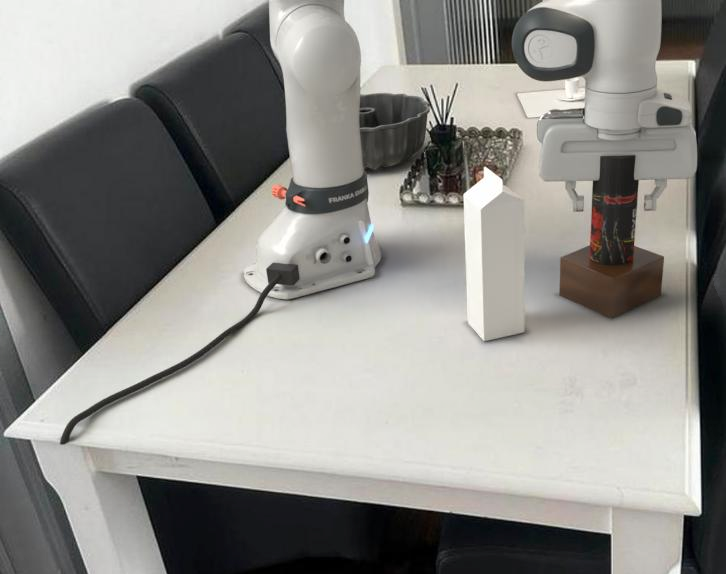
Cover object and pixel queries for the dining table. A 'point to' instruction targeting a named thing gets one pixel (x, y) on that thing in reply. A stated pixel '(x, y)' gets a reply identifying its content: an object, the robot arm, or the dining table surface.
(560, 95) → the teacup and saucer
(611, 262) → the deodorant
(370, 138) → the bundt pan
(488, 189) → the milk
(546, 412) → the dining table surface
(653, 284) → the block
